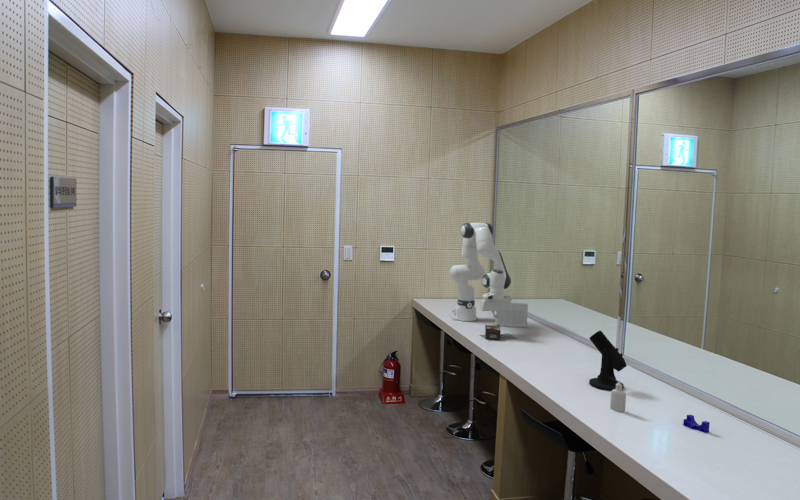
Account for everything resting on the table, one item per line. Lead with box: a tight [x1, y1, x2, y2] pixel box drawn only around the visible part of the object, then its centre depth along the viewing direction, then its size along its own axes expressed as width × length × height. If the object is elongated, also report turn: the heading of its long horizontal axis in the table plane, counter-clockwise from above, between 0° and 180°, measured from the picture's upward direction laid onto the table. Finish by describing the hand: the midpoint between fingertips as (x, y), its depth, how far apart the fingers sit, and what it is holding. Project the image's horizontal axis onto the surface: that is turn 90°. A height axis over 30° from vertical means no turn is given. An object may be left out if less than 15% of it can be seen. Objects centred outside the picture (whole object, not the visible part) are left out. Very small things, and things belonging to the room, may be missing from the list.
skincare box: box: [494, 302, 529, 328], centre depth 365 cm, size 21×6×16 cm, turn 84°
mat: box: [479, 333, 518, 341], centre depth 334 cm, size 11×20×1 cm, turn 107°
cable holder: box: [682, 413, 710, 434], centre depth 202 cm, size 8×4×4 cm, turn 22°
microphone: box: [588, 330, 628, 392], centre depth 247 cm, size 15×17×25 cm
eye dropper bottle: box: [609, 380, 627, 413], centre depth 218 cm, size 4×6×12 cm
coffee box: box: [484, 322, 502, 341], centre depth 333 cm, size 9×6×16 cm
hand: (495, 317), depth 338 cm, fingers closed
